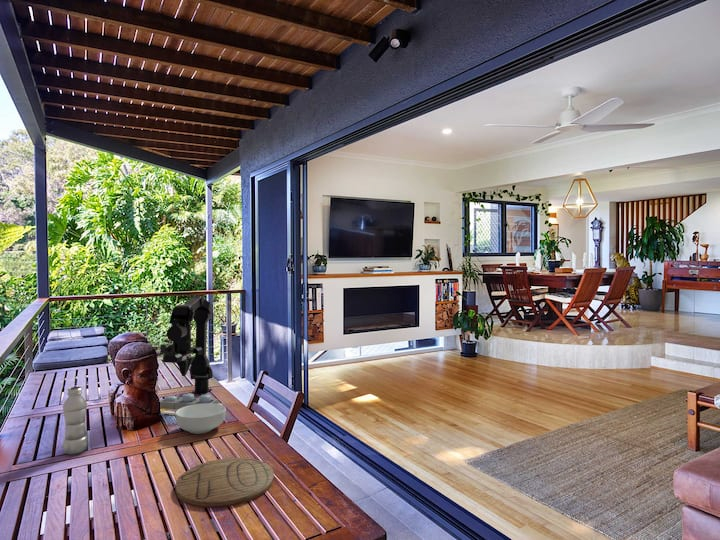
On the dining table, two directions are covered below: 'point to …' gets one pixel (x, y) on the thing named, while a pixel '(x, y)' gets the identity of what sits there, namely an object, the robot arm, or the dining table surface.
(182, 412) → the cereal bowl
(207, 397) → the button
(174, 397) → the button
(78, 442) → the plastic bottle
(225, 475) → the trivet
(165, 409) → the board
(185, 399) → the button
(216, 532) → the dining table surface
